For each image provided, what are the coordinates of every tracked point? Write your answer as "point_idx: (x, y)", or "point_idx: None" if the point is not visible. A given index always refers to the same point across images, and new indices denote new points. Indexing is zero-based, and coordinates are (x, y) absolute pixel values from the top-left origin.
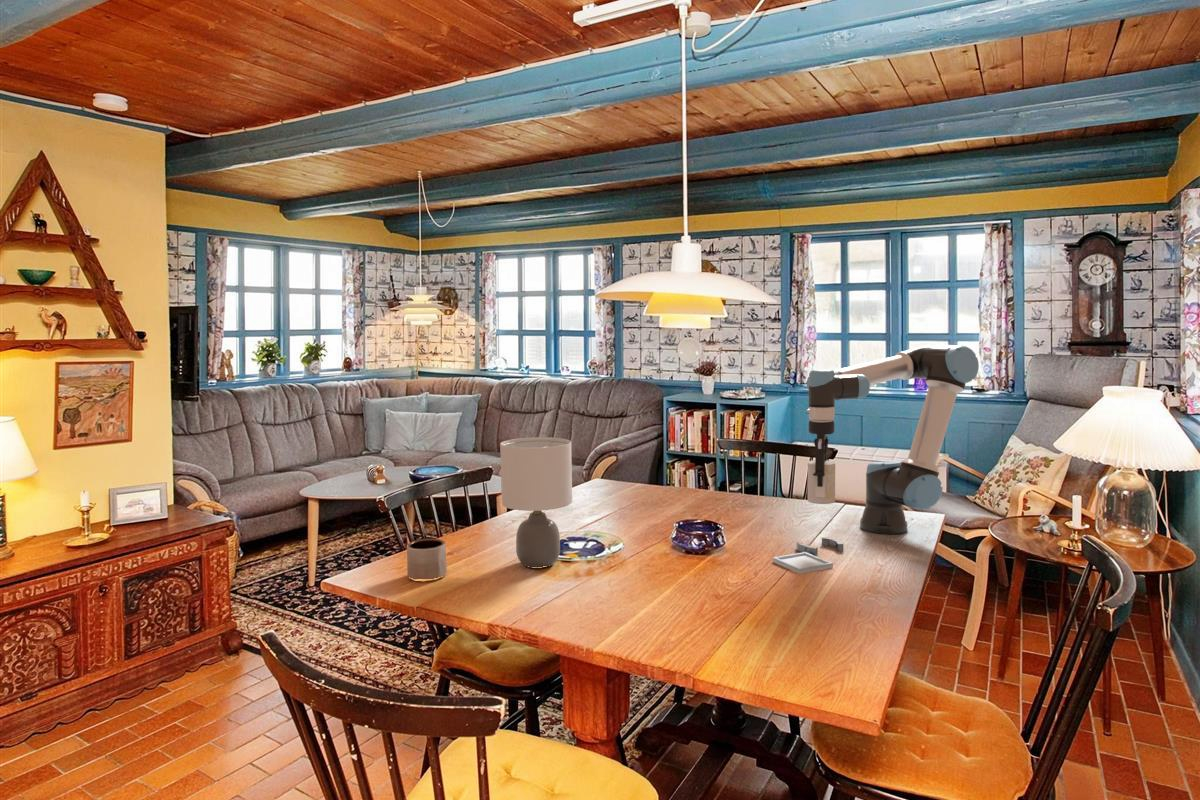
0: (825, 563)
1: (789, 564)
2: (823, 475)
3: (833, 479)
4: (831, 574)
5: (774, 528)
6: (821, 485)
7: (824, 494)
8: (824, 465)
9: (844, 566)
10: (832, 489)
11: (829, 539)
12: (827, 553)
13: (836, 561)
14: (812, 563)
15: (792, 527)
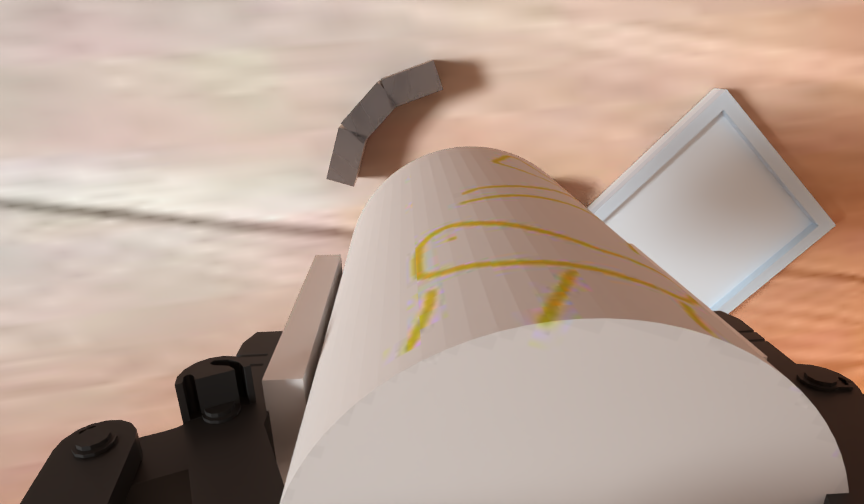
0: (737, 123)
1: (776, 272)
2: (833, 378)
3: (592, 222)
4: (810, 85)
5: (150, 416)
6: (734, 326)
7: (644, 255)
8: (851, 486)
9: (679, 34)
10: (569, 196)
11: (364, 144)
12: (484, 135)
13: (606, 80)
14: (711, 183)
15: (86, 349)
